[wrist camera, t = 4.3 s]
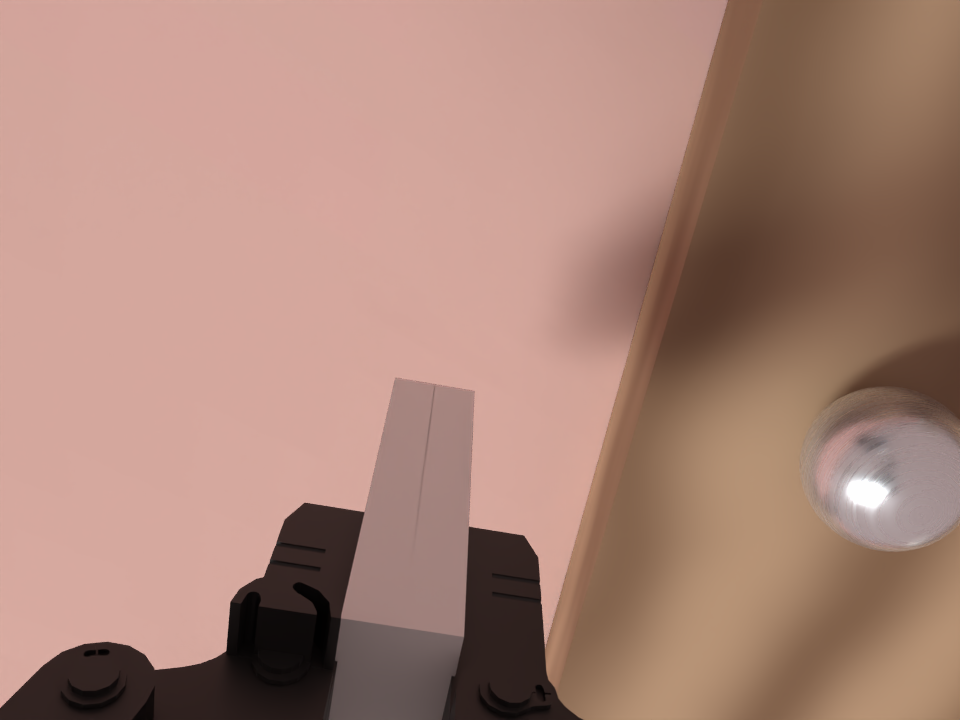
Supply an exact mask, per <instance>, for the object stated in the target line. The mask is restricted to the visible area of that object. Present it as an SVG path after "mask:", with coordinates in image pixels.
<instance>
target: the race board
mask: <svg viewBox="0 0 960 720" xmlns="http://www.w3.org/2000/svg"><path fill="white" fill-rule="evenodd" d="M879 386H889V387H900V388H905V389H910V390H913V391H917V392H919V393H922V394H925V395H927V396H929V397H931V398H932V399H934V400H936V401H938V402H939V403H941V404H942V405H944V406H945V407H946V408H947V409H949V410H950V411H951V412H952V413H953V414H954V415H955V416H956V417H957V418H958V419H959V420H960V0H728V3H727V7H726V10H725V14H724V17H723V21H722V25H721V28H720V32H719V35H718V39H717V42H716V46H715V49H714V53H713V56H712V60H711V63H710V67H709V71H708V74H707V78H706V81H705V85H704V88H703V92H702V95H701V99H700V102H699V106H698V110H697V113H696V117H695V120H694V124H693V127H692V131H691V134H690V138H689V141H688V145H687V148H686V152H685V156H684V159H683V163H682V166H681V170H680V173H679V177H678V180H677V184H676V187H675V191H674V195H673V198H672V202H671V205H670V209H669V212H668V216H667V219H666V223H665V226H664V230H663V233H662V237H661V241H660V244H659V248H658V251H657V255H656V258H655V262H654V265H653V269H652V272H651V276H650V280H649V283H648V287H647V290H646V294H645V297H644V301H643V304H642V308H641V311H640V315H639V318H638V322H637V326H636V329H635V333H634V336H633V340H632V343H631V347H630V350H629V354H628V357H627V361H626V365H625V368H624V372H623V375H622V379H621V382H620V386H619V389H618V393H617V396H616V400H615V403H614V407H613V411H612V414H611V418H610V421H609V425H608V428H607V432H606V435H605V439H604V442H603V446H602V450H601V453H600V457H599V460H598V464H597V467H596V471H595V474H594V478H593V481H592V485H591V489H590V492H589V496H588V499H587V503H586V506H585V510H584V513H583V517H582V520H581V524H580V527H579V531H578V535H577V538H576V542H575V545H574V549H573V552H572V556H571V559H570V563H569V566H568V570H567V574H566V577H565V581H564V584H563V588H562V591H561V595H560V598H559V602H558V605H557V609H556V612H555V616H554V620H553V623H552V627H551V630H550V634H549V637H548V641H547V644H546V648H545V658H546V672H547V676H548V680H549V681H550V682H551V684H552V685H553V686H554V687H555V689H556V692H557V695H558V698H559V700H560V701H561V702H562V703H563V705H564V706H565V707H566V708H568V709H569V710H570V711H571V712H573V713H574V714H575V715H576V716H578V717H579V718H581V719H583V720H960V524H959V525H958V526H957V527H956V528H955V529H954V530H953V531H952V532H951V533H949V534H948V535H947V536H945V537H944V538H942V539H941V540H939V541H937V542H935V543H933V544H930V545H928V546H925V547H922V548H919V549H914V550H909V551H900V552H888V551H879V550H874V549H869V548H866V547H863V546H860V545H857V544H855V543H852V542H850V541H848V540H846V539H845V538H843V537H841V536H840V535H838V534H837V533H836V532H834V531H833V530H831V529H830V528H829V527H828V526H827V525H826V524H825V523H824V522H823V521H822V520H821V519H820V518H819V516H818V515H817V514H816V512H815V511H814V510H813V508H812V507H811V505H810V503H809V501H808V499H807V497H806V495H805V492H804V489H803V486H802V482H801V477H800V470H799V469H800V452H801V447H802V444H803V441H804V438H805V435H806V433H807V431H808V429H809V427H810V426H811V424H812V423H813V421H814V420H815V419H816V417H817V416H818V415H819V414H820V413H821V412H822V411H823V410H824V409H825V408H826V407H827V406H829V405H830V404H831V403H833V402H834V401H836V400H837V399H839V398H841V397H843V396H845V395H847V394H849V393H852V392H855V391H857V390H861V389H865V388H870V387H879Z"/></svg>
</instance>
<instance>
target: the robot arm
mask: <svg viewBox="0 0 960 720" xmlns="http://www.w3.org/2000/svg"><path fill="white" fill-rule="evenodd" d="M474 393H475V391H472V390H466V389H460V388H454V387H448V386H442V385H436V384H430V383H425V382H419V381H413V380H407V379H401V378H395V381H394V386H393V390H392V394H391V399H390V403H389V407H388V412H387V416H386V421H385V425H384V429H383V434H382V438H381V443H380V447H379V451H378V456H377V460H376V465H375V469H374V473H373V478H372V482H371V487H370V491H369V495H368V500H367V504H366V508H365V512H360V511H353V510H347V509H341V508H335V507H328V506H322V505H316V504H310V503H304V504H303V505H302V506H300V507H299V508H298V509H297V510H296V511H295V512H293V513H292V514H291V515H290V516H289V517H287V518H286V519H285V521H284V523H283V526H282V529H281V532H280V534H279V537H278V540H277V544H276V546H275V548H274V551H273V554H272V556H271V559H270V564H269V565H268V567H267V570H266V573H265V576H264V577H263V578H259V579H256V580H254V581H252V582H251V583H249V584H247V585H246V586H244V587H242V588H240V590H239V591H238V592H237V594H236V595H235V596H234V598H233V599H232V601H231V603H230V615H229V626H228V638H227V650H226V652H224V653H223V654H221V655H220V656H218V657H217V658H214V659H212V660H209V661H206V662H204V663H201V664H197V665H191V666H186V667H179V668H170V669H160V670H154V667H153V666H152V664H151V663H150V662H149V660H148V659H147V657H146V656H145V655H144V654H143V653H141V652H139V651H137V650H136V649H134V648H132V647H130V646H128V645H122V644H117V643H111V642H101V643H90V644H83V645H80V646H78V647H75V648H72V649H69V650H67V651H64V652H61V653H60V654H59V655H57V656H56V657H54V658H53V659H52V660H50V661H49V662H47V663H46V664H45V665H43V666H42V667H41V668H40V669H39V670H38V671H37V672H36V673H35V674H34V675H33V676H32V677H31V678H30V679H29V680H28V681H27V682H26V683H25V684H24V685H23V686H22V687H21V688H20V689H19V690H18V691H17V692H16V693H15V694H14V695H13V696H12V697H11V698H10V699H9V700H8V701H7V702H6V703H5V704H4V705H3V706H2V707H1V708H0V720H583V719H581V718H579V717H578V716H576V715H575V714H574V713H573V712H571V711H570V710H569V709H568V708H566V707H565V706H564V705H563V703H562V702H561V701H560V700H559V698H558V695H557V692H556V689H555V687H554V686H553V685H552V684H551V682H550V681H549V680H548V676H547V672H546V658H545V644H544V631H543V617H542V604H541V589H540V585H539V583H540V576H539V562H538V557H537V555H536V554H535V552H534V550H533V549H532V547H531V546H530V544H529V543H528V541H527V540H526V538H525V536H523V535H517V534H510V533H504V532H498V531H492V530H486V529H479V528H473V527H469V510H470V486H471V463H472V440H473V416H474Z"/></svg>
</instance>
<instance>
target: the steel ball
mask: <svg viewBox="0 0 960 720" xmlns="http://www.w3.org/2000/svg"><path fill="white" fill-rule="evenodd" d="M799 470H800V477H801V482H802V486H803V489H804V492H805V495H806V497H807V499H808V501H809V503H810V505H811V507H812V508H813V510H814V511H815V512H816V514H817V515H818V516H819V518H820V519H821V520H822V521H823V522H824V523H825V524H826V525H827V526H828V527H829V528H830V529H831V530H833V531H834V532H836V533H837V534H838V535H840V536H841V537H843V538H845V539H846V540H848V541H850V542H852V543H855V544H857V545H860V546H863V547H866V548H869V549H874V550H879V551H888V552H900V551H909V550H914V549H919V548H922V547H925V546H928V545H930V544H933V543H935V542H937V541H939V540H941V539H942V538H944V537H945V536H947V535H948V534H949V533H951V532H952V531H953V530H954V529H955V528H956V527H957V526H958V525H959V524H960V420H959V419H958V418H957V417H956V416H955V415H954V414H953V413H952V412H951V411H950V410H949V409H947V408H946V407H945V406H944V405H942V404H941V403H939V402H938V401H936V400H934V399H932V398H931V397H929V396H927V395H925V394H922V393H919V392H917V391H913V390H910V389H905V388H900V387H889V386H879V387H870V388H865V389H861V390H857V391H855V392H852V393H849V394H847V395H845V396H843V397H841V398H839V399H837V400H836V401H834V402H833V403H831V404H830V405H829V406H827V407H826V408H825V409H824V410H823V411H822V412H821V413H820V414H819V415H818V416H817V417H816V419H815V420H814V421H813V423H812V424H811V426H810V427H809V429H808V431H807V433H806V435H805V438H804V441H803V444H802V447H801V452H800V469H799Z"/></svg>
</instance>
